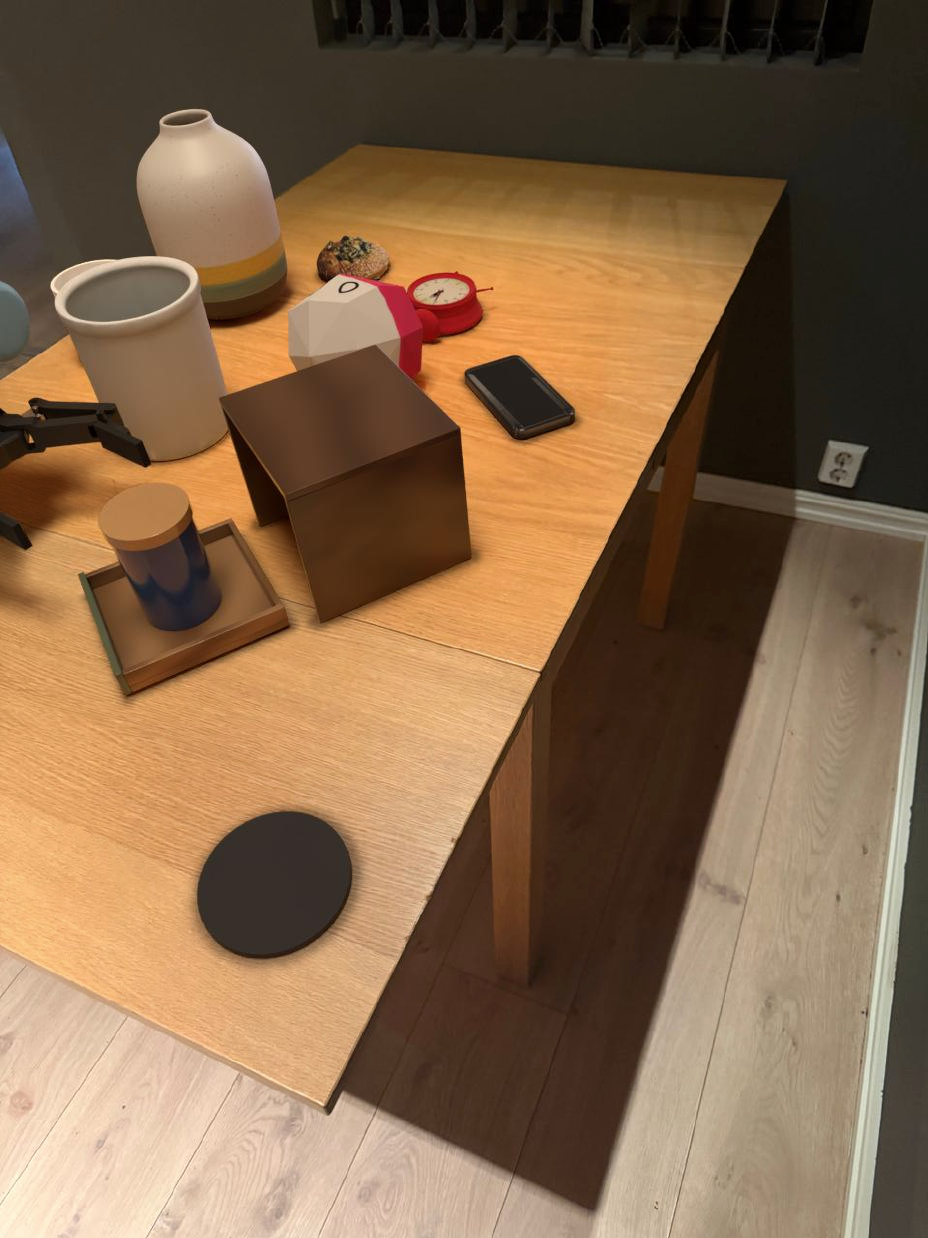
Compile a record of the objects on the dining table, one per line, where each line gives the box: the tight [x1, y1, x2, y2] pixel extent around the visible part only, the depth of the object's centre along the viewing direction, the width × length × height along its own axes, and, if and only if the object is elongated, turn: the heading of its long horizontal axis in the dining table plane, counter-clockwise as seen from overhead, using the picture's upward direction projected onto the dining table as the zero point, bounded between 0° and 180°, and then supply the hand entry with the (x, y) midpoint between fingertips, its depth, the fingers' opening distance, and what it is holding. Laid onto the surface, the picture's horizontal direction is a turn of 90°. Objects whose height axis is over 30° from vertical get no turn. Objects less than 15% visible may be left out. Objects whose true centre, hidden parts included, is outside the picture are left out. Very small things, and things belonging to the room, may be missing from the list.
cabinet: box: [219, 345, 473, 624], centre depth 83 cm, size 16×17×15 cm
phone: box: [463, 354, 576, 440], centre depth 103 cm, size 8×1×15 cm
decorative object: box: [287, 273, 423, 380], centre depth 102 cm, size 15×15×15 cm
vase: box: [136, 108, 288, 321], centre depth 117 cm, size 17×17×24 cm
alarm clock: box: [406, 271, 494, 342], centre depth 116 cm, size 10×6×15 cm
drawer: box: [77, 517, 291, 696], centre depth 82 cm, size 15×15×3 cm
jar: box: [97, 482, 222, 631], centre depth 78 cm, size 8×8×11 cm
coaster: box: [196, 810, 353, 959], centre depth 63 cm, size 11×11×1 cm
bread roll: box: [316, 234, 390, 282], centre depth 129 cm, size 11×11×5 cm
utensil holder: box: [54, 255, 229, 462], centre depth 98 cm, size 15×15×18 cm
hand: (86, 493), depth 80 cm, fingers open, 13 cm apart
